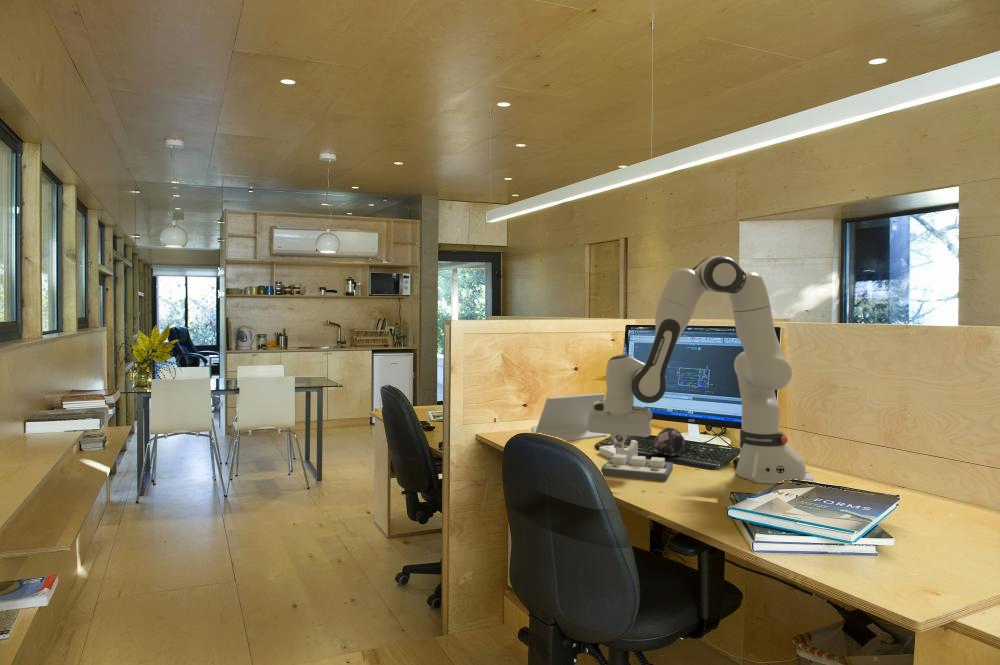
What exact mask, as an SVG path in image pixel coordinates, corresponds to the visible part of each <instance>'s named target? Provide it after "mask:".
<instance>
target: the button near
mask: <svg viewBox="0 0 1000 665" xmlns="http://www.w3.org/2000/svg"><path fill="white" fill-rule="evenodd" d="M649 461H650V467H651V468H662V469H663V468H664V466H665V462H666V458H665V457H657V456H655V457H654V456H652V457H651V458H650V460H649Z"/></svg>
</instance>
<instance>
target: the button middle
mask: <svg viewBox="0 0 1000 665" xmlns="http://www.w3.org/2000/svg"><path fill="white" fill-rule="evenodd" d="M646 460H647V457H646V456H643V455H640V456H639V455H638V456H634V455H633V457H632V458H631V466H640V467H644V466H645V465H646Z"/></svg>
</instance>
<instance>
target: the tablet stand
mask: <svg viewBox="0 0 1000 665" xmlns="http://www.w3.org/2000/svg"><path fill="white" fill-rule="evenodd" d="M605 397H606V394H605V393H604V392H600V393H599V392H597V393H587V394H585V393H584V394H576V395H575V394H573V395H564V396H552V397H547V398H546V400H545V403H544V406H543V409H542V412H541V415H540V418H539V421H538V423H537V425H532V426H531V428H530V430H531V432H532V433H533V432H535V433H542V434H546V435H550V436H554V437H558V438H561V439H563V440H566V441H565V442H569V441H570V442H571V441H577V440H578V441H579V440H587V439H595V438H603V437H605V438H606V437H608V434H605V433H593V432H589V431H588V429H587V425H588V417H589V414H590V412H591V411H592V410H591V405H592V404H593V403H594V402H596V401H599V400H603V399H605Z"/></svg>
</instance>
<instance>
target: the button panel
mask: <svg viewBox="0 0 1000 665" xmlns="http://www.w3.org/2000/svg"><path fill="white" fill-rule="evenodd" d="M673 467H674V462H669V461H665V466H664V468H663V469H662V468H651V467H650V460H647V459H646V465H645V466H644V467H640V466H631V459H627V463H626V465H617V464H612V457H611V458H608V460H607V461H606V463H605V464H604V465H603V466H602V467H601V468H600V469H601V470H600V471H601V472H602V473H603V475H602V476H609V477H610V476H611V477H618V478H619V477H620V478H629V479H630V478H631V479H642V480H651V481H652V480H653V481H660V482H661V481H662V482H667V481H668V479H669V477H670V475H671V473H672V471H673V469H674V468H673ZM601 472H600V473H601Z"/></svg>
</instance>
